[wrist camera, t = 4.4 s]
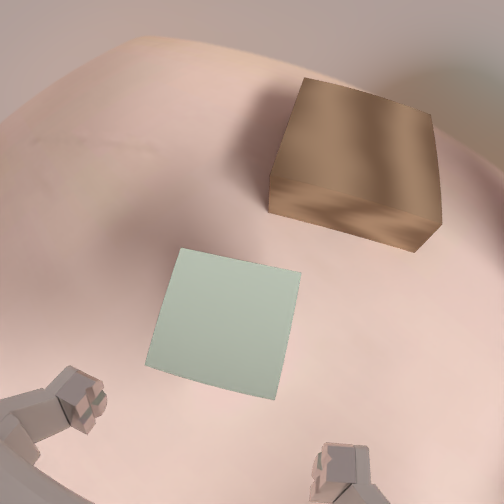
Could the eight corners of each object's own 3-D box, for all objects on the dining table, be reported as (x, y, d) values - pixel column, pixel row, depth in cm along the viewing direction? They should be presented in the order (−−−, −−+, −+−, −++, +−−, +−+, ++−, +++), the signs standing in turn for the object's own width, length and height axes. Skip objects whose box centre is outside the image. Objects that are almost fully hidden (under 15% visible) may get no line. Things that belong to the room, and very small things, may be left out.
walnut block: (268, 214, 24) (270, 174, 19) (299, 117, 28) (304, 77, 24) (412, 254, 22) (442, 224, 18) (412, 149, 27) (430, 114, 22)
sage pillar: (198, 374, 19) (144, 365, 10) (215, 310, 20) (180, 247, 11) (266, 390, 18) (274, 400, 9) (281, 324, 20) (301, 272, 11)
